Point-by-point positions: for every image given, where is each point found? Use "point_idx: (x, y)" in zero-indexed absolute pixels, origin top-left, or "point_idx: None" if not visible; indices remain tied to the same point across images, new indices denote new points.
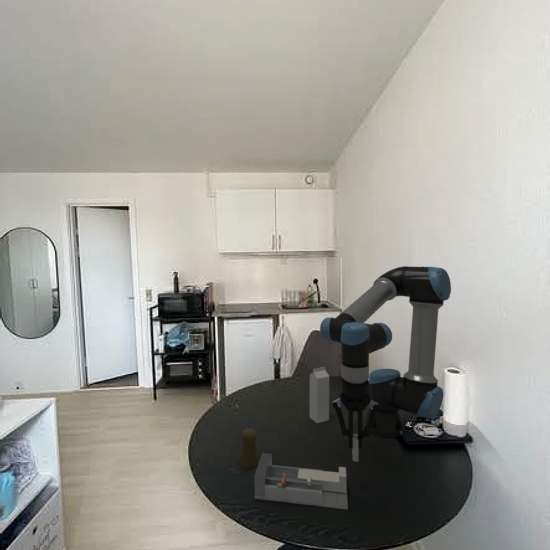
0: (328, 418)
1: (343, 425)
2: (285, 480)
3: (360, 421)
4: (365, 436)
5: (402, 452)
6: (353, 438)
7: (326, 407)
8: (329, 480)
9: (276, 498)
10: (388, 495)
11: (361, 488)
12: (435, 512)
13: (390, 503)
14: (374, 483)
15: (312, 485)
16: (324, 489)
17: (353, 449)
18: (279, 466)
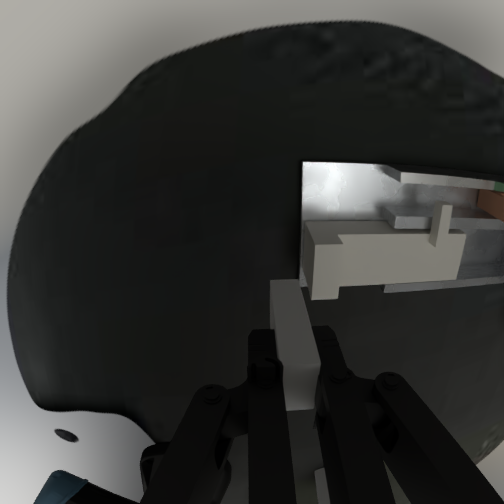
0: (316, 474)
1: (418, 434)
2: (500, 209)
3: (269, 500)
4: (223, 388)
5: (137, 405)
6: (314, 370)
7: (324, 495)
8: (371, 238)
9: (494, 175)
10: (165, 248)
11: (249, 264)
12: (51, 206)
13: (160, 214)
14: (206, 292)
15: (423, 214)
16: (377, 222)
17: (304, 317)
18: (496, 279)
